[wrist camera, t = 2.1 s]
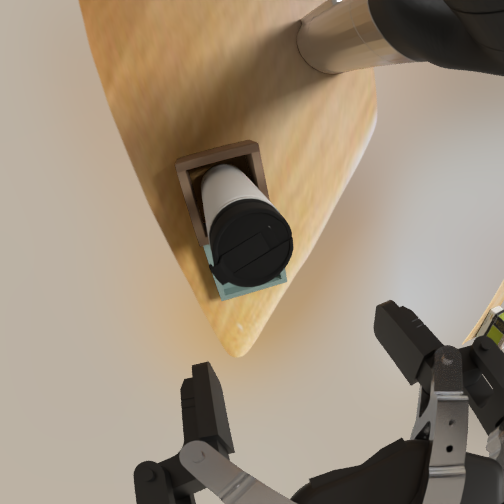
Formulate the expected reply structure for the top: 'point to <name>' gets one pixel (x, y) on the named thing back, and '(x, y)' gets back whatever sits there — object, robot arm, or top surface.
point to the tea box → (494, 326)
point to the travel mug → (243, 229)
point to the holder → (211, 156)
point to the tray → (234, 291)
